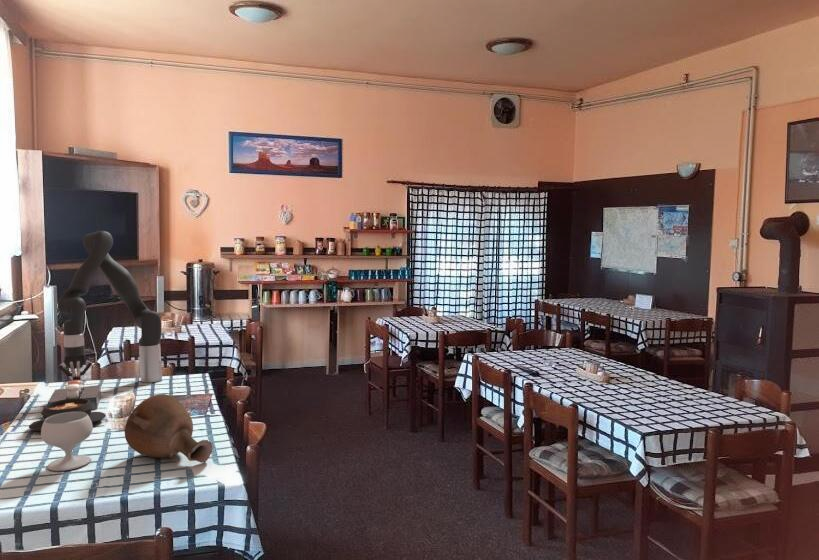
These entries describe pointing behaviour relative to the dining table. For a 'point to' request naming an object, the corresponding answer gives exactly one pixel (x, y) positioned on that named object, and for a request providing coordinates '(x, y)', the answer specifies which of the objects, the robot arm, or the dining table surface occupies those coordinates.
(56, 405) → the casserole
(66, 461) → the chalice
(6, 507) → the dining table surface
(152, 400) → the jug
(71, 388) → the knob
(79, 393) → the middle knob
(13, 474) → the dining table surface
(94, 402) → the control box
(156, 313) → the robot arm
